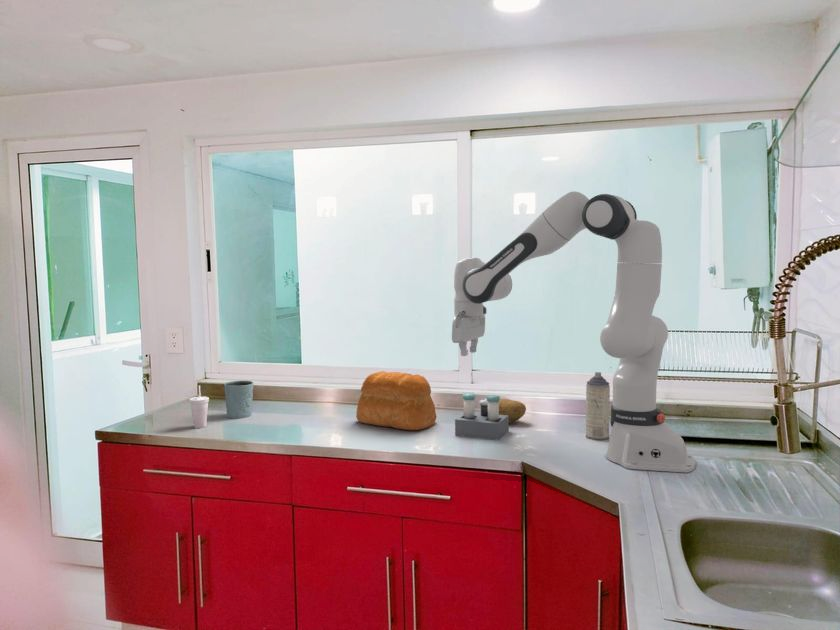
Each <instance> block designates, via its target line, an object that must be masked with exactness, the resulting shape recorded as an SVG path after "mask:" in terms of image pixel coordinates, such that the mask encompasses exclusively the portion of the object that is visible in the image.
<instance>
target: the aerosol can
mask: <svg viewBox="0 0 840 630" xmlns="http://www.w3.org/2000/svg"><path fill="white" fill-rule="evenodd" d="M585 388H586V389H585V390H586V392H585V395H586V396H585V402H586V403H585V437H586V439H589V440H592V441H607V440H610V396H611V395H610V391H611V389H610V388H611V387H610V382H608V381H607V379H606V378H604V377H603V376H602V372H600V371H599V372H598V371H595V372H594V376H592V377H591V378H590V379H589V380H588V381H586V385H585Z"/></svg>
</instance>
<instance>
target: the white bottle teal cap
mask: <svg viewBox="0 0 840 630" xmlns="http://www.w3.org/2000/svg"><path fill="white" fill-rule="evenodd" d="M500 397H501V396H499V395H495V394H494V395H493V394H492V395H490V394H489V395H487V396H486V399H487V401H488V420H490V421H497V420H499V401H500Z"/></svg>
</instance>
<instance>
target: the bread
mask: <svg viewBox="0 0 840 630" xmlns="http://www.w3.org/2000/svg"><path fill="white" fill-rule="evenodd" d="M360 388H361V389H360V393H361V395H360V397H359V400H358V403H357V408H356V414H355V415H356V419H357V421H358V422H360V423H362V424H368V425H369V424H370V425H375V426H377V427H378V426H379V427H385V428H386V427H387V428H388V427H391V428H393V429H398V430H404V431H405V430H406V431H420V430H424V429H427V428H429V427H430V426H433V425H434V424H435V422H436V420H437V412H436V405H435V402H434V400H433V399H432V396H431V394H432V389H431V385H430V383H429V381H428V380H427V379H426V377H425V376H423V375H421V374H411V373H408V372H407V373H406V372H400V371H399V372H398V371H391V372H388V371H385V370H383V371H382V370H381V371H378V372H374V373H371V374H369V375H368V376H367V377H366V378H365V379H364V381H363V382H362V385H361V387H360Z"/></svg>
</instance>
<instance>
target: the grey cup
mask: <svg viewBox="0 0 840 630" xmlns="http://www.w3.org/2000/svg"><path fill="white" fill-rule="evenodd" d="M223 386H224V395H225V396H224V397H225V406H226V407H225V408H226V418H228V419H233V420H234V419H235V420H236V419H237V420H238V419H245V418H249V417H251V416H252V414H253V413H252V412H253V398H254V394H253V392H254V381H251V380H233V381H232V380H231V381H227V382H224V384H223Z"/></svg>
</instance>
